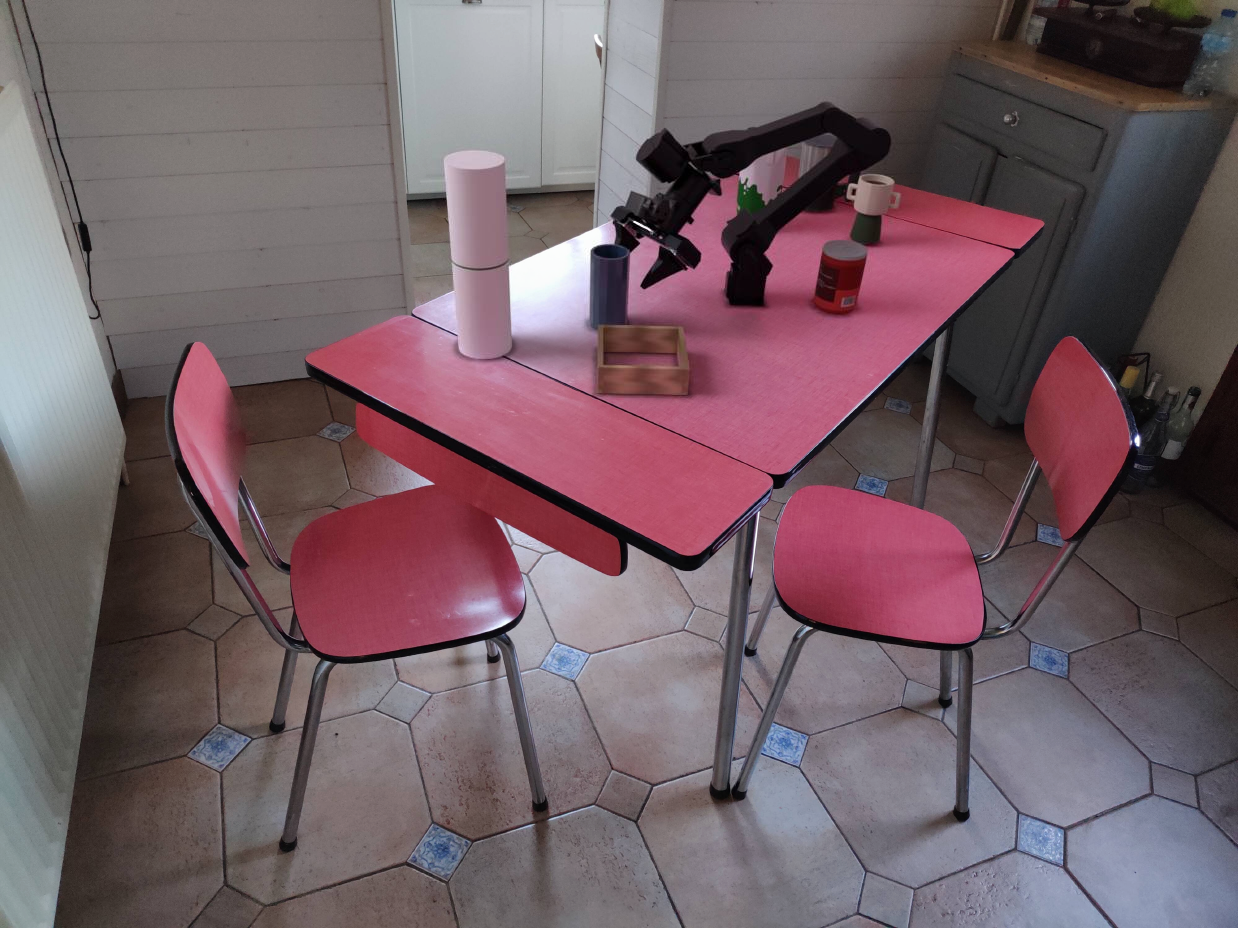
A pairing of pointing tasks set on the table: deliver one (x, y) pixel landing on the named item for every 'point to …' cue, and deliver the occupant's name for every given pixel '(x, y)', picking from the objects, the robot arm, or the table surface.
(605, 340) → the crate
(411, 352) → the table surface
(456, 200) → the container
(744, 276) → the robot arm
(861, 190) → the character mug
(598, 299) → the tumbler
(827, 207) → the milk frother
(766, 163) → the milk carton
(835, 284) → the canned food
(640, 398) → the table surface
